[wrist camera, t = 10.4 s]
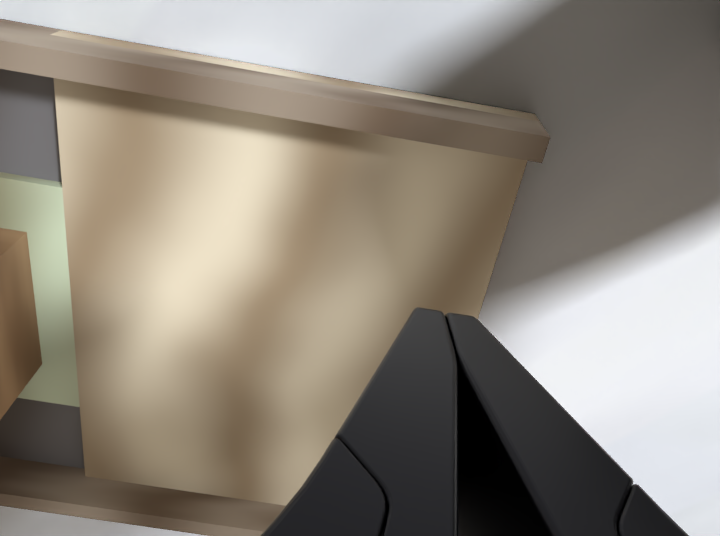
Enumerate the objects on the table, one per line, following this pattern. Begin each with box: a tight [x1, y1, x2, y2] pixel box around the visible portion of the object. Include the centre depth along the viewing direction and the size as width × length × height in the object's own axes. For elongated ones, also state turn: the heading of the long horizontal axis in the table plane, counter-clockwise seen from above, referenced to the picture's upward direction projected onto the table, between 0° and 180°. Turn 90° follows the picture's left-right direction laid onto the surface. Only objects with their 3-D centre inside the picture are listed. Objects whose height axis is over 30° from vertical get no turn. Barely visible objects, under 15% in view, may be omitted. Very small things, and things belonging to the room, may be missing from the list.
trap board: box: [0, 19, 550, 536], centre depth 24 cm, size 22×20×2 cm
